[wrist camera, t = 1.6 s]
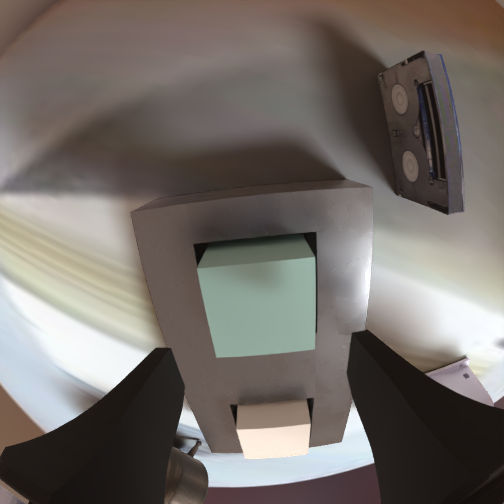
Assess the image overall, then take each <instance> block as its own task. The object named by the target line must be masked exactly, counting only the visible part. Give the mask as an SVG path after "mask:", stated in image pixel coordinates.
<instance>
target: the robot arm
mask: <svg viewBox="0 0 504 504" xmlns="http://www.w3.org/2000/svg"><path fill="white" fill-rule="evenodd" d="M469 362H470V360H469V359H468V358H466V359H463V360H461V361H458V362H456V363H453V364H451V365H448V366H445V367H443V368H440V369H437V370H434V371H431V372H428V373H425V374H424V373H423V372H421V371H420V370H418V369H417V368H415V367H414V366H413V365H411V364H410V363H409V362H407V361H406V360H405V359H403V358H402V357H401V356H399V355H398V354H397V353H396V352H394V351H393V350H392V349H391V348H389V347H388V346H387V345H386V344H384V343H383V342H382V341H381V340H380V339H378V338H377V337H376V336H375V335H373V334H372V333H371V332H370V331H368V330H364V331H358V332H352V334H351V342H350V350H349V358H348V365H347V372H346V374H347V378H348V382H349V386H350V390H351V394H352V398H353V400H354V403H355V406H356V408H357V411H358V413H359V416H360V419H361V421H362V424H363V427H364V429H365V432H366V435H367V437H368V440H369V443H370V446H371V449H372V453H373V457H374V462H375V467H376V471H377V477H378V483H379V489H380V497H381V504H504V410H503V409H500V408H496V407H494V406H493V402H492V399H491V397H490V395H489V394H488V392H487V391H486V390H485V388H484V387H483V385H482V384H481V383H480V381H479V380H478V379H477V377H476V376H475V375H474V373H473V372H472V371H471V369H470V368H469V367H468V364H469ZM184 391H185V384H184V382H183V379H182V377H181V374H180V371H179V369H178V366H177V363H176V360H175V358H174V355H173V352H172V349H171V348H155V349H154V350H153V351H152V352H151V353H150V354H149V355H148V356H147V357H146V358H145V359H144V360H143V361H142V362H141V363H140V364H139V365H138V366H137V367H136V368H135V369H134V370H133V371H132V372H130V373H129V374H128V375H127V376H126V377H125V378H124V379H123V380H122V381H121V382H120V383H119V384H118V385H117V386H116V387H115V388H113V389H112V390H111V391H110V392H109V393H108V394H107V395H105V396H104V397H103V398H102V399H101V400H100V401H98V402H97V403H96V404H94V405H93V406H92V407H91V408H89V409H88V410H86V411H85V412H83V413H82V414H81V415H79V416H78V417H76V418H74V419H73V420H71V421H69V422H67V423H66V424H64V425H62V426H60V427H59V428H57V429H55V430H53V431H51V432H49V433H47V434H44V435H42V436H40V437H37V438H35V439H32V440H29V441H26V442H23V443H20V444H16V445H12V446H8V447H5V449H4V451H3V452H2V454H1V456H0V479H1V480H2V481H3V482H5V483H6V484H7V485H8V486H10V487H11V488H12V489H14V490H15V491H17V492H18V493H19V494H20V495H22V496H23V497H25V498H26V499H28V500H29V503H28V504H164V499H165V485H166V476H167V468H168V462H169V457H170V453H171V449H172V446H173V442H174V438H175V434H176V431H177V427H178V423H179V419H180V416H181V412H182V407H183V400H184ZM0 504H26V503H24V502H22V501H21V500H20V499H18V498H17V497H15V496H14V495H13V494H11V493H10V492H9V491H7V490H6V489H5V488H3V487H2V486H1V485H0Z"/></svg>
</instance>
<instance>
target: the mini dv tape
mask: <svg viewBox="0 0 504 504" xmlns="http://www.w3.org/2000/svg"><path fill="white" fill-rule="evenodd" d="M377 79H378V83H379V87H380V91H381V96H382V100H383V105H384V110H385V115H386V120H387V126H388V132H389V138H390V144H391V152H392V159H393V168H394V177H395V188H396V195H397V196H400V197H403V198H406V199H408V200H411V201H414V202H417V203H419V204H422V205H424V206H427V207H430V208H432V209H435V210H437V211H439V212H442V213H444V214H447V215H450V214H455V213H461V212H464V176H463V162H462V151H461V142H460V135H459V128H458V121H457V116H456V110H455V105H454V100H453V95H452V91H451V87H450V83H449V79H448V75H447V71H446V68H445V64H444V61H443V58H442V55H441V54H438V53H433V52H428V51H421V52H419V53H417V54H415V55H413V56H411V57H409V58H407V59H405V60H404V61H402V62H400V63H398V64H396V65H394V66H392V67H391V68H389V69H387V70H385V71H383V72H382V73H380V74H378V75H377Z"/></svg>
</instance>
